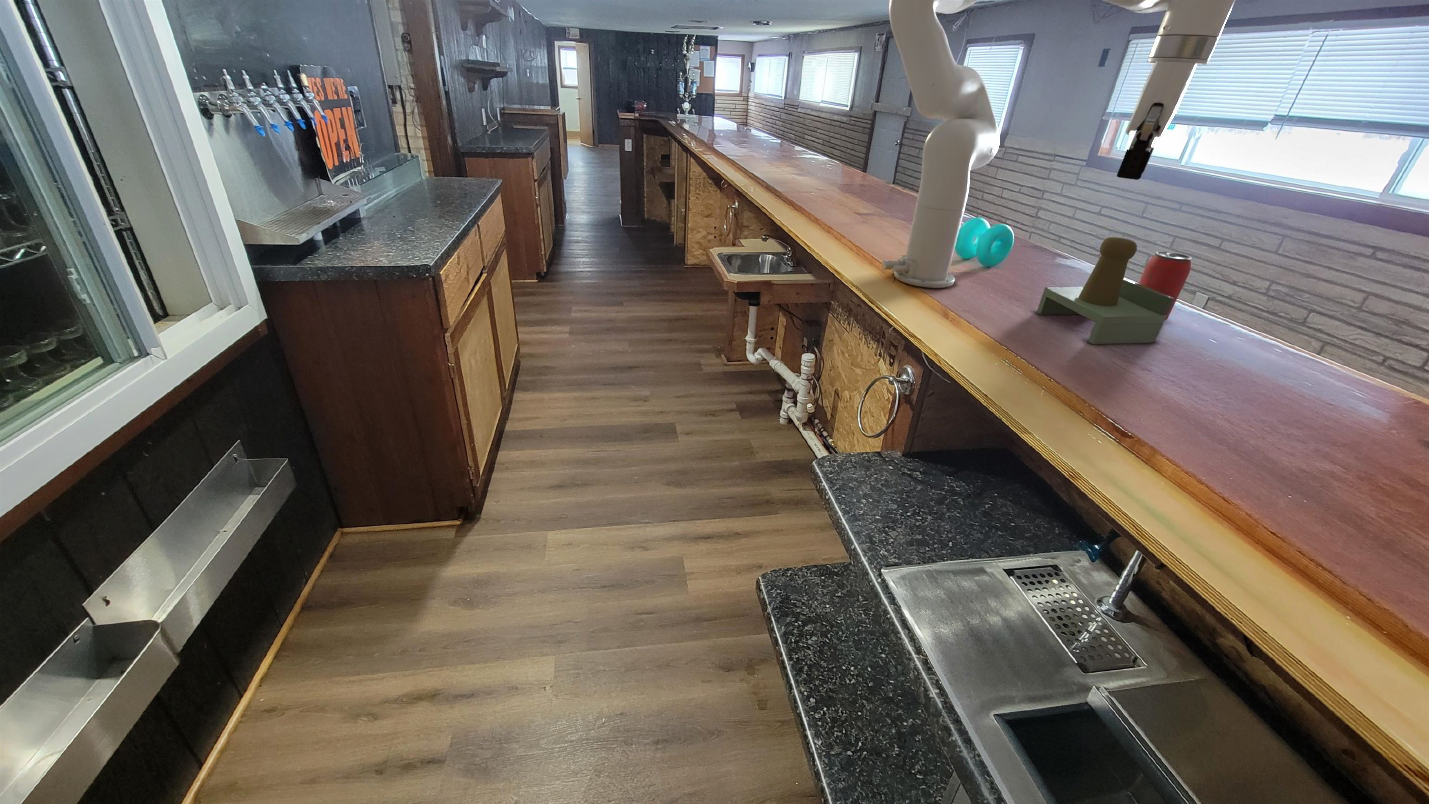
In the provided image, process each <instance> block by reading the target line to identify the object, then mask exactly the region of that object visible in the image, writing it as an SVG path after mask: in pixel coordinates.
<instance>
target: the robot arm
mask: <svg viewBox="0 0 1429 804" xmlns="http://www.w3.org/2000/svg"><path fill="white" fill-rule="evenodd" d="M979 1H980V0H889V4H888V5H889V7H888V13H889V15H888V16H889V23H890V28H891V32H892V36H893V38H894V41H895V44H896V47H897V49H898V53H899V55H900V59H901V62H902V66H903V70H904V72H905V76H906V79H907V82H908V86H909V88H910V91H911V96H912V99H913V102H914V105H915V108H916V109H917V112H918V113H919V114H920V115H921V116H922V117H924V118H927V119H932V120H942V121H943V122H941V123H939V124H937V125H936V126H935V127H933V129H932V130H931V132H930V133H929V134H928V136H927V137H926V139H925V142H924V144H923V150H922V158H921V159H922V160H921V175H920V182H919V189H918V193H917V199H916V204H915V208H914V213H913V217H912V223H911V227H910V232H909V237H908V241H907V246H906V251H905V254H902V255H900V257H899V258H898V259H896V260H883V261H882V263H881V268H882V270H885V271H886V270H892V272H893V273H894V274H893V276H894V278H895V279H896V280H897V281H900V282H902V283H903V284H904V283H905V284H907V285H911V286H915V287H920V288H921V287H922V288H931V289H942V288H948V287H951V286H953V285H954V284H955V279H956V277H954V275H952V274H951V273H950V270H951V269H950V268H951V264H952V261H953V255H954V253H955V245H956V241H957V237H958V233H959V229H960V228H961V226H962V221H963V217H964V214H965V210H966V205H967V201H968V196H969V190H970V176H971V175H970V174H971V170H977V169H980V168H982V167H984V166H986V165H988V164H989V163H990V162H991V161H992V160H993V159H994V157H995V156H996V154H997V152H998V150H999V146H1000V141H1001V140H1000V131H999V126H998V122H997V119H996V115H995V113H994V109H993V106H992V103H991V99H990V97H989V93H988V90H987V87H986V84H985V82H984V80H983V78H982V76H981V75H980V73H978V71H976V69H974V68H972V67H970V66H967V65H961V64H958V63H957V62H956V60H955V59H954V56H953V53H952V50H951V48H950V44H949V40H948V36H947V34H946V31H945V30H944V27H943V25H942V24H941V22H940V21H939V19H938V16H937V13H940V14H944V15H949V14H952V15H953V14H955V13H958V12H961V11H963V10H966V9H968V8H969V7H971V6H972V5H974V4H975V3H977V2H979ZM1101 1H1102V2H1105V3H1109V4H1112V5H1115V6H1118V7H1121V8H1124V9H1126V10H1128V11H1131V12H1134V13H1137V14H1149V13H1151V14H1152V13H1156V12H1164V11H1165V13H1164V16H1163V19H1162V21H1161V24H1160V26H1159V29H1158V31H1157V34H1156V37H1155V39H1154V42H1153V44H1152V47H1151V49H1150V52H1149V55H1148V58H1147V60H1146V63H1150V64H1151V63H1153V66H1152V67H1151V69H1150V72H1149V73H1148V76H1147V78H1146V80H1145V83H1144V85H1143V87H1142V90H1141V92H1140V95H1139V97H1138V100H1137V102H1136V105H1135V106H1134V107H1135V108H1134V110H1133V113H1132V115H1131V118H1130V120H1129V122H1128V125H1127V128H1126V129H1125V134H1126V135H1127V136H1130V135H1132V134H1133V133H1134V132H1135V133H1134V136H1133V138H1132V141H1131V143H1130V145H1129V147H1128V149H1126V150H1125V154H1124V155H1123V158H1122V161H1121V164H1120V166H1119V168H1118V170H1117V173H1116V177H1117V178H1119V179H1126V180H1134V181H1139V180H1140V179H1141V178H1142V176H1143V174H1144V173H1145V171H1146V168H1147V166H1148V163H1149V161H1150V159H1151V157H1152V154H1153V152H1154V149H1155V147H1154V145H1155V143H1156V140H1157V138H1160V137H1162V136H1163V135H1164V133H1165V132H1166V130H1167V128H1168V127H1169V125H1170V124H1171V121H1172V120H1173V118H1174V116H1175V114H1176V113H1177V110H1178V109H1179V107H1180V104H1181V101H1182V99H1183V97H1184V95H1185V93H1186V91H1187V88H1188V86H1189V84H1190V82H1191V79H1192V77H1193V75H1194V72H1195V70H1196V67H1197V66H1208V63H1209V62H1210V59H1211V57H1212V54H1213V52H1214V51H1215V47H1216V45H1217V43H1218V40H1219V38H1220V36H1221V34H1222V32H1223V30H1224V27H1225V24H1226V22H1227V20H1228V18H1229V15H1230V14H1231V11H1232V9H1233V7H1234V4H1235V1H1236V0H1101Z"/></svg>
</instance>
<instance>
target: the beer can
mask: <svg viewBox="0 0 1429 804" xmlns="http://www.w3.org/2000/svg"><path fill="white" fill-rule="evenodd" d="M1192 260H1193V258H1192V257H1191V256H1190V255H1187V254H1184V253H1181V252H1180V253H1179V252H1174V251H1168V250H1167V251H1166V250H1158V251H1155V252H1154V254H1153V256H1152V257H1151V258H1150V259H1149V260H1148V261H1147V263H1146V265H1145V268H1144V269H1143V272H1142V274H1141V276H1140V279H1139V282H1137V283H1138V284H1140V285H1143V286H1145V287H1148V288H1150V289H1153V290H1155V291H1158V292H1160V293H1163V294H1165V295H1168V296H1170V297H1173V298H1175V299H1174V301H1173V303H1172V305H1171V307H1170V309H1169V312H1168V314H1167V316H1166V318H1165V320H1164V322H1165V321H1167V320H1168V319H1169V317H1170V314H1171V313H1172V310H1173V308H1174V307H1175V304H1176V302H1177V300H1178V298H1179V296H1180V294H1181V291H1182V289H1183V287H1184V286H1185V284H1186V281H1187V279H1188V277H1189V275H1190V272H1191V268H1192Z"/></svg>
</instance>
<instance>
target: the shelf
mask: <svg viewBox="0 0 1429 804" xmlns="http://www.w3.org/2000/svg"><path fill="white" fill-rule="evenodd" d="M1138 283H1139V282H1135V281H1133V280H1130V279H1128V278H1125V277H1124V279H1123V283H1122V287H1121V291H1120V295H1119V299H1118V303H1117V305H1116V306H1100V305H1095V304H1091V303H1087V302H1085V301H1082V300H1081V299H1079V295H1080V293H1081V291H1082V289H1083V288H1084V286H1058V287H1057V286H1054V287H1053V286H1047V287H1046V286H1045V287H1044V288H1043V291H1042V295H1041V297H1040V300H1039V303H1038V306H1037V309H1036V313H1037V314H1039V315H1081V316H1083V317H1085V318H1086V319H1089V320H1091V321H1093V322H1095V323H1094V326H1093V328H1092V330H1091V333H1090V335H1089V338H1088V341H1087V342H1088V343H1090V344H1092V345H1108V344H1109V345H1110V344H1112V345H1113V344H1147V343H1148V344H1149V343H1151V344H1152V343H1155V342H1156V339H1157V337H1158V335H1159V334H1160V331H1161V329H1162V327H1163V325H1164V322H1165V321H1166V320H1165V318H1166V316H1167V314H1168V312H1169V309H1170V307H1171V305H1172V303H1173V301H1174V299H1175V298H1173V297H1170V296H1168V295H1165V294H1163V293H1160V292H1158V291H1155V290H1153V289H1150V288H1148V287H1145V286H1143V285H1140V284H1138ZM1164 320H1165V321H1164Z"/></svg>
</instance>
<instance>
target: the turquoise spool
mask: <svg viewBox="0 0 1429 804" xmlns="http://www.w3.org/2000/svg"><path fill="white" fill-rule="evenodd" d="M1014 241H1015V236H1014V231H1013V230H1012V228H1011V227H1010V226H1009V225H1007V224H1005V223H997V224H994V225H992V226H991V225H990V224H989V222H988V221H987V220H986V219H984V218H983V217H979V216H978V217H972V218H970V219H968V220H966V221H965V222H964V223H963V224H961V225H960V229H959V233H958V237H957V241H956V245H955V249H954V252H955V253H956V255H957V256H958V257H960V258H962V259H964V260H971V259H974V258H976V259H977V262H979V264H981V265H982V266H983V267H986V268H993V267H996V266H998V265H1000V264H1002V262H1004V261H1005V260H1006V258H1008V256H1009V254H1010V253H1011V251H1012V249H1013V247H1014Z"/></svg>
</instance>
